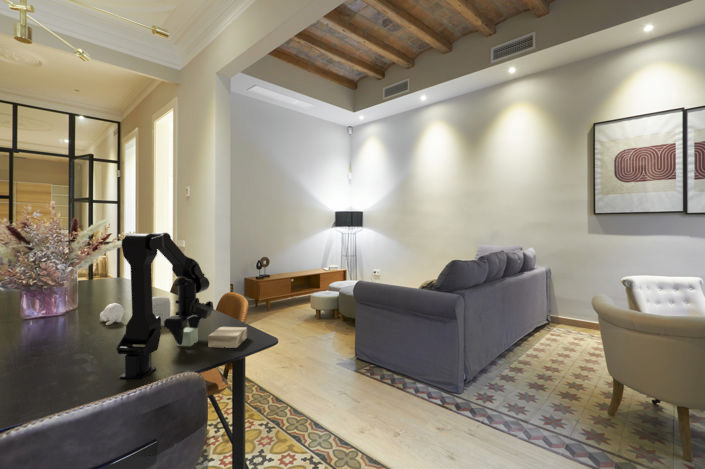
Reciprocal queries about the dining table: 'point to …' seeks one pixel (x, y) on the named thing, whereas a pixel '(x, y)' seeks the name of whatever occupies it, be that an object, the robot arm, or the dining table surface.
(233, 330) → the oak block
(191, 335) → the sage cube
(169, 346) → the dining table surface
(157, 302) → the photo printer
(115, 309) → the white animal figurine
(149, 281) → the robot arm
